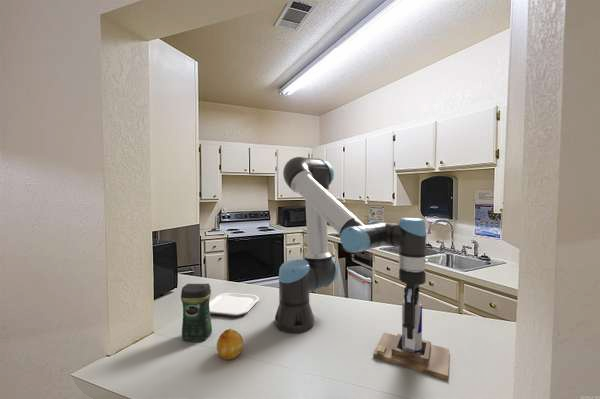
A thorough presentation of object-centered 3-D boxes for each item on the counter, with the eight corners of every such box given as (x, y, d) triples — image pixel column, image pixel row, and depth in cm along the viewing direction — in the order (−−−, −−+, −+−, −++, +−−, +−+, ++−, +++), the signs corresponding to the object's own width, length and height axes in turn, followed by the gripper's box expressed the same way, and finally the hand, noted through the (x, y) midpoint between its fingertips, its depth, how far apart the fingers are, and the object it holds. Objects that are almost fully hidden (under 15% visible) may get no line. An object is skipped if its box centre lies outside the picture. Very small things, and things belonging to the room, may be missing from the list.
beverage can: (424, 356, 78) (424, 306, 78) (404, 354, 79) (404, 305, 79) (418, 345, 84) (419, 299, 84) (400, 344, 85) (400, 298, 85)
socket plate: (373, 357, 81) (373, 347, 81) (383, 335, 93) (383, 327, 93) (448, 380, 71) (448, 369, 71) (449, 352, 83) (449, 343, 83)
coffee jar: (214, 330, 97) (213, 280, 97) (206, 342, 89) (205, 288, 89) (188, 330, 98) (187, 280, 97) (178, 342, 90) (177, 288, 89)
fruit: (207, 347, 82) (217, 329, 80) (228, 338, 89) (237, 320, 87) (221, 370, 78) (232, 351, 76) (242, 358, 85) (252, 340, 83)
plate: (197, 315, 110) (197, 310, 110) (222, 296, 130) (222, 291, 130) (243, 320, 105) (243, 315, 105) (262, 299, 126) (262, 295, 125)
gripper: (422, 279, 71) (421, 363, 72) (428, 263, 87) (427, 332, 88) (393, 274, 75) (392, 355, 76) (404, 260, 91) (403, 326, 92)
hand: (411, 342), depth 82 cm, fingers open, 5 cm apart
